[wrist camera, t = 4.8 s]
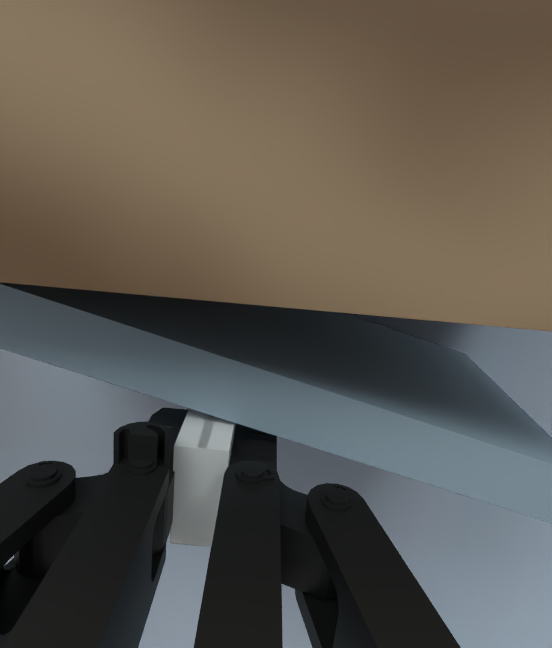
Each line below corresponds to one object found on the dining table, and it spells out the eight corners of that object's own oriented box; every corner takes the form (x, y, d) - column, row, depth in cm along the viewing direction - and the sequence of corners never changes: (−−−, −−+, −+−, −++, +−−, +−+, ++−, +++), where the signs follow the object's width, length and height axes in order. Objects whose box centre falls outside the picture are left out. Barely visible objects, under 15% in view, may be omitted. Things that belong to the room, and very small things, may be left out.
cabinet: (83, -120, 17) (-357, -766, 5) (581, -76, 17) (1208, -631, 5) (92, 219, 20) (-163, 267, 9) (505, 256, 20) (787, 352, 9)
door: (68, 219, 19) (-109, 248, 11) (465, 354, 21) (593, 477, 12) (56, 277, 20) (-119, 349, 11) (440, 404, 21) (543, 555, 13)
